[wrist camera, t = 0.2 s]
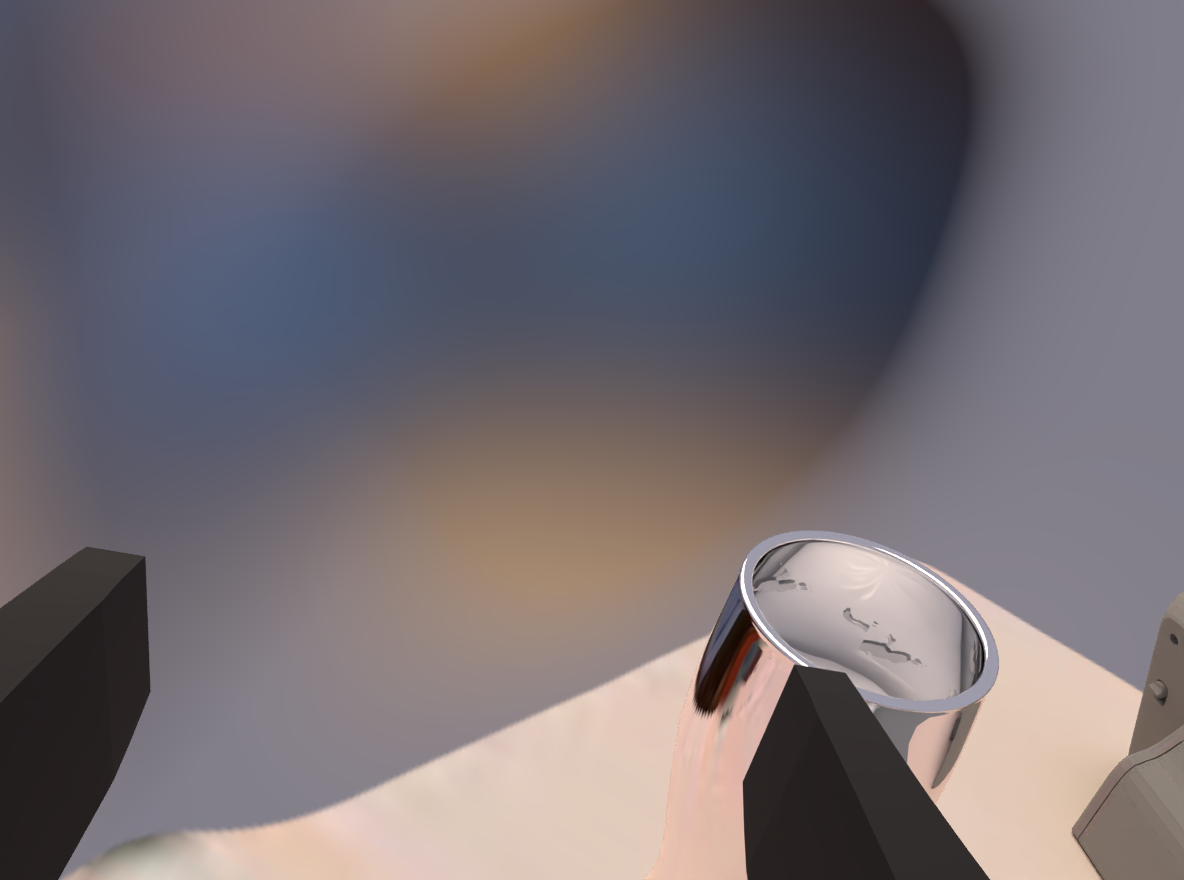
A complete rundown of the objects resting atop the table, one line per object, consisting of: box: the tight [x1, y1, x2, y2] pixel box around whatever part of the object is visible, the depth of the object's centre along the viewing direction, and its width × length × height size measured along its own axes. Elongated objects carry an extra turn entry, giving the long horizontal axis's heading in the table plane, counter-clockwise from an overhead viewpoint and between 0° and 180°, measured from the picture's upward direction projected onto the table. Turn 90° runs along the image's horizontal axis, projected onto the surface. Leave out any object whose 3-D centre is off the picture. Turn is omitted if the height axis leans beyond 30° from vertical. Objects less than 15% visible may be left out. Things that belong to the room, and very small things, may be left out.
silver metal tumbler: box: [644, 530, 999, 880], centre depth 28 cm, size 7×7×15 cm
